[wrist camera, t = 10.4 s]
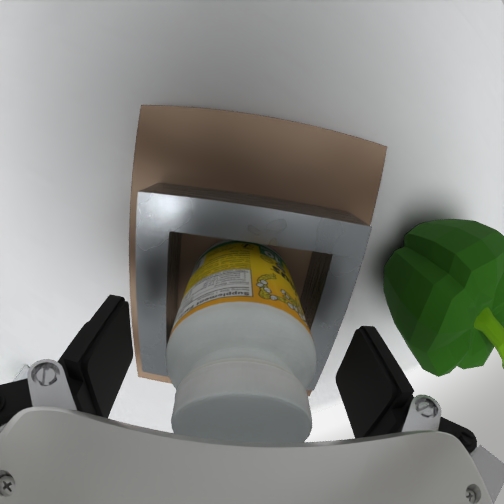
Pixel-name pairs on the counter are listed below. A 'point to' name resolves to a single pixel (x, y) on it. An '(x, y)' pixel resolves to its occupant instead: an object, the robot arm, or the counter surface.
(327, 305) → the socket collar
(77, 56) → the counter surface
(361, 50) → the counter surface
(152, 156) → the docking plate
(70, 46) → the counter surface
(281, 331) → the supplement bottle
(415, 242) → the bell pepper
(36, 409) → the robot arm
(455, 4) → the counter surface
